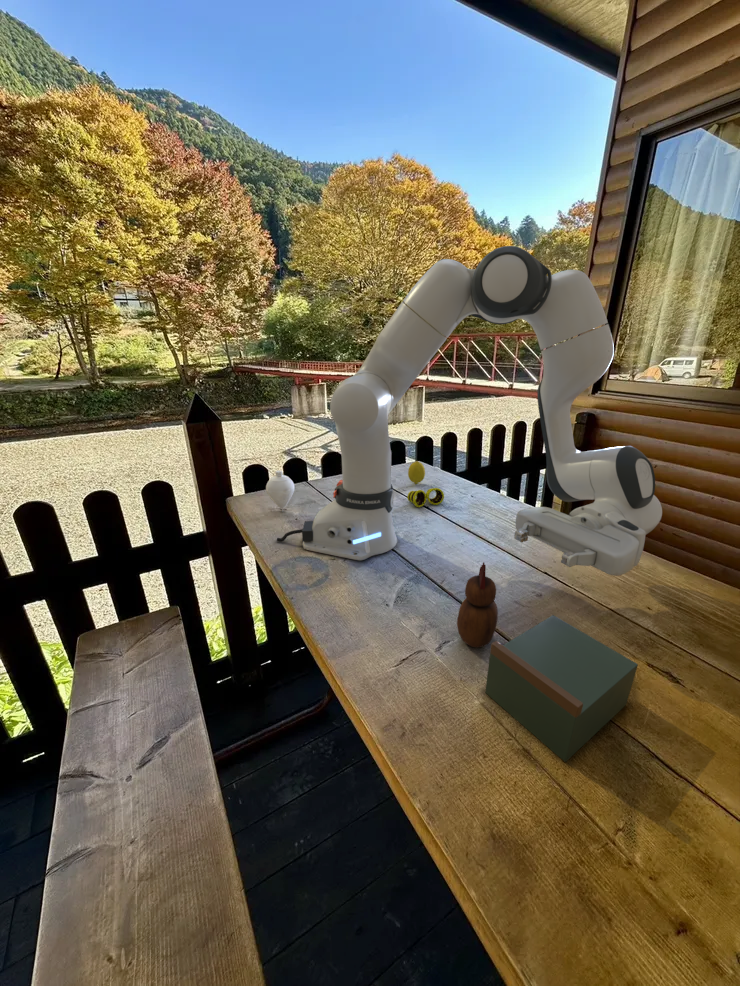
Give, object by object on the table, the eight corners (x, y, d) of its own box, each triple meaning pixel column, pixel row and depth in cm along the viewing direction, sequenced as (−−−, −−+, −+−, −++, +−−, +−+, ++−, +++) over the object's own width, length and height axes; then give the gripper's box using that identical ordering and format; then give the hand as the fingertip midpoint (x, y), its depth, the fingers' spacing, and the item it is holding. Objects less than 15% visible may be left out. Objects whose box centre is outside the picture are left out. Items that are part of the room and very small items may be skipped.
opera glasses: (436, 501, 123) (436, 485, 123) (444, 504, 118) (444, 487, 118) (406, 505, 121) (406, 488, 120) (414, 508, 116) (413, 491, 115)
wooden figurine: (486, 659, 62) (496, 574, 57) (450, 645, 65) (457, 563, 60) (499, 633, 68) (509, 554, 62) (465, 621, 71) (472, 544, 65)
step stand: (484, 692, 57) (491, 643, 54) (546, 651, 64) (554, 605, 61) (565, 762, 47) (578, 707, 44) (626, 705, 55) (641, 654, 51)
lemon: (423, 487, 132) (424, 464, 129) (406, 486, 133) (407, 463, 130) (425, 481, 137) (426, 459, 134) (408, 481, 138) (409, 458, 135)
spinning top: (276, 519, 110) (272, 477, 106) (264, 510, 116) (259, 470, 111) (301, 512, 115) (298, 471, 110) (288, 504, 120) (284, 465, 116)
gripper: (546, 494, 81) (495, 509, 74) (656, 535, 64) (601, 558, 58) (542, 523, 83) (492, 539, 77) (647, 570, 66) (593, 595, 60)
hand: (540, 548), depth 67 cm, fingers open, 8 cm apart
